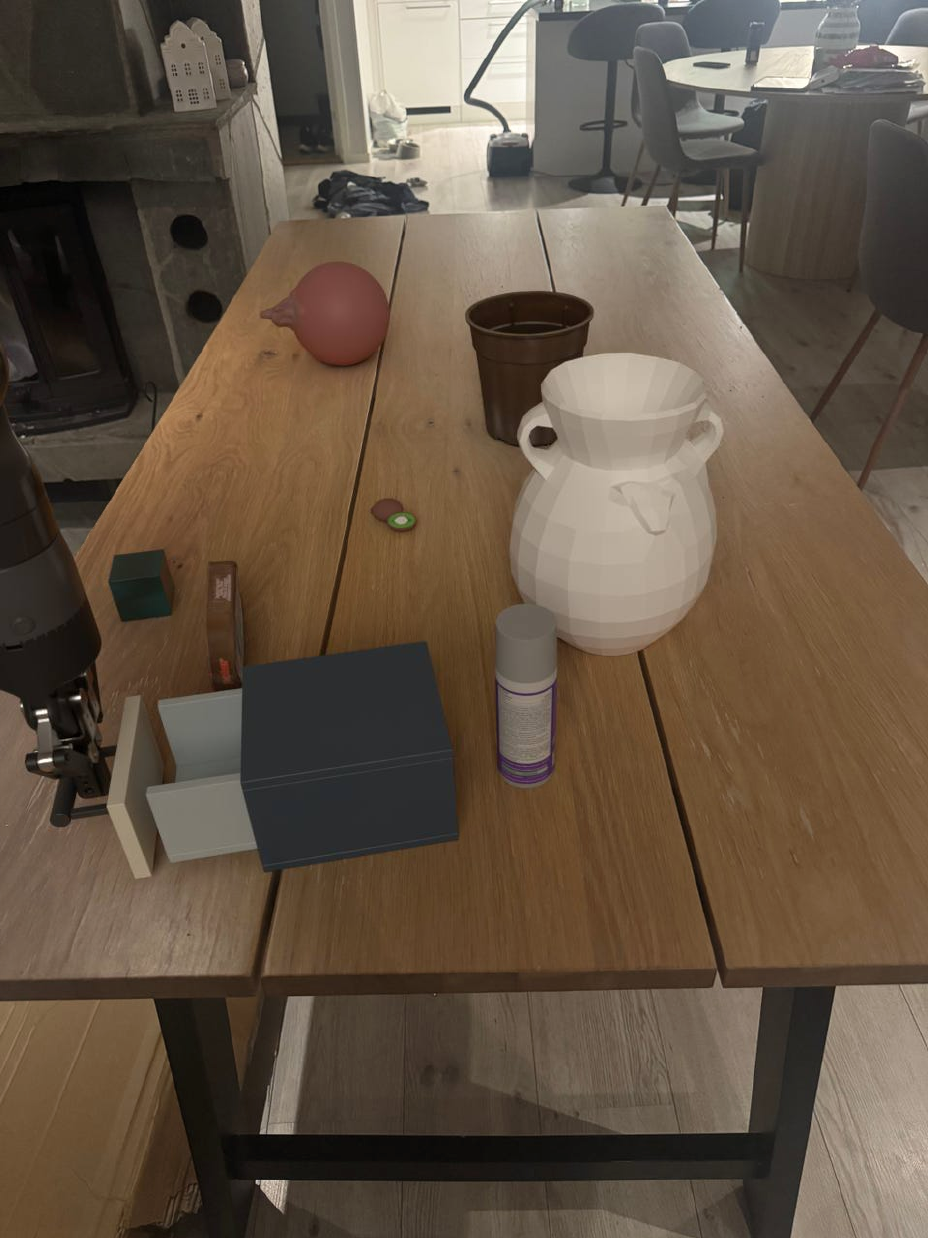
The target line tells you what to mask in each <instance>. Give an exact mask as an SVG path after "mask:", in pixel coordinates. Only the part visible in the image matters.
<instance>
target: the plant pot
mask: <svg viewBox="0 0 928 1238" xmlns="http://www.w3.org/2000/svg"><path fill="white" fill-rule="evenodd" d="M594 315H595V309H594V306H593V305H592V304H591V303H590V302H588V301H587V300H585V299H584V298H581V297H579V296H577V295H573V294H570V293H566V292H559V291H552V290H551V291H550V290H528V291H526V290H524V291H513V292H512V291H511V292H505V293H500V294H495V295H492V296H489V297H486V298H483V299H480V300H478V301H476V302H474V303H472V304H471V305H470V306H469V307H468V308H467V309H466V310H465V313H464V318H465V323H466V324H467V325H468V326H469V331H470V338H471V344H472V345H471V346H472V349H473V350H474V351H475V357H476V363H477V369H478V375H479V383H480V390H481V396H482V405H483V413H484V421H485V428H486V431H487V433H488V434H489V436H490V437H491V438H492V439H494V440H496V441H499V440H502V441H504V442H505V443H506V444H507V445H511V446H518V447H520V446H519V442H518V439H517V432H518V428H519V425H520V423H521V420H522V417H523V416H524V415H525V414H526V413H527V412H528V411H529V410H530V409H532V408H534V407H535V406H537V405H538V404H540V403H541V402H543V399H542V392H541V384H542V382H543V381H544V380H545V378H546V377H547V375H548V374H549V373H550V371H551V370H552V369H554V368H556V367H557V366H559V365H561V364H563V363H564V362H567V361H570V360H574V359H577V358H581V357H584V351H585V350H584V349H585V348H586V345H587V343H588V337H589V330H590V322H592V320H593V319H594ZM557 439H558V438H557V435H556V432H555V431H554V429H553V428H551V427H544V426H536V427H535V428H533V429H532V430H531V432H530V434H529V440H530V444H531V445H532V446H533V447H539V446H540V447H541V446H545V445H552V444H553V443H554V442H555V441H556V440H557Z"/></svg>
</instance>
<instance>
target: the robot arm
mask: <svg viewBox="0 0 928 1238" xmlns="http://www.w3.org/2000/svg"><path fill="white" fill-rule="evenodd" d="M9 381H10V367H9V360H8V355H7V352H6V349H5V346H4V344H3V342H2V339H0V691H2V692H4V693H7V694H9V695H12V696H14V697H17V698H18V699H19V708H20V712H21V714H22V716H23V718H24V719H25V723H26V725H27V726H28V727H29V728H30V729H31V730H32V731H34V732H35V734H36V742H37V745H36V746H37V747H35V748H33V749H32V752H28V753H26V755H25V757H24V758H25V759H24V766H25V768H26V771H27V772H28V773H31V774H34V775H37V776H40V777H44V778H47V779H51V780H54V781H56V780H59V779H62V778H66V777H71V778H72V780H73V783H74V785H75V788H76V790H77V795H78V796H79V798H81V799H83V800H88V799H89V800H90V799H95V798H102V797H108V795H109V790H110V784H111V778H112V773H111V771H110V768H109V765H108V763H107V760H106V757H104V755H103V752H102V749H101V746H102V744H103V735H102V733H101V730H100V727H99V725H100V724H102V723H103V718H104V712H103V709H102V701H101V693H100V686H99V678H98V671H97V663H96V660H97V659H98V658H99V655H100V653H101V650H102V646H103V645H102V644H103V643H102V642H103V641H102V635H101V632H100V630H99V627H98V624H97V622H96V618H95V616H94V615H95V614H94V613H93V609H92V607H91V603H90V601H89V598H88V594H87V592H86V589H85V586H84V583H83V580H82V578H81V575H80V572H79V568H78V565H77V563H76V560H75V558H74V555H73V553H72V551H71V548H70V547H69V545H68V543H67V541H66V540H65V538H64V535H63V534H62V532H61V529H60V527H59V524H58V521H57V519H56V516H55V513H54V511H53V510H54V509H53V507H52V503H51V501H50V498H49V495H48V493H47V490H46V486H45V483H44V481H43V479H42V476H41V474H40V472H39V470H38V467H37V465H36V463H35V461H34V459H33V458H32V456H31V454H30V453H29V452H28V450H27V449H26V447H25V445H23V443H22V442H21V440H20V439H19V437H18V436H17V433H16V431H15V430H14V427H13V426H12V423H11V420H10V418H9V414H8V411H7V409H6V405H5V403H4V400H5V397H6V394H7V391H8V387H9Z"/></svg>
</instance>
